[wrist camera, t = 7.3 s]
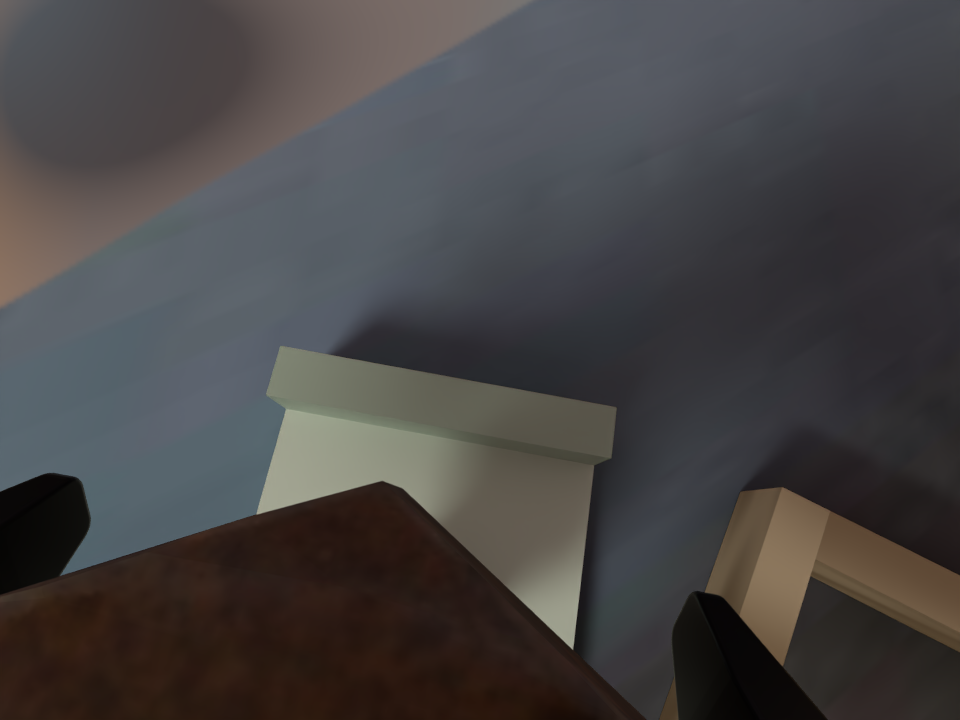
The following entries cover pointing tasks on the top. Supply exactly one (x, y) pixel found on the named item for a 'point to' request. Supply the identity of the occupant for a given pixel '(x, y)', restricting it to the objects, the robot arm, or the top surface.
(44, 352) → the top surface
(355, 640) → the bolt
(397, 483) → the pale green ledge plate
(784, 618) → the socket
